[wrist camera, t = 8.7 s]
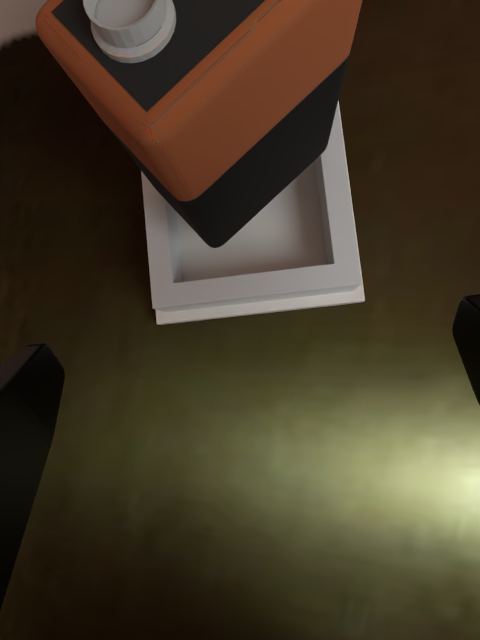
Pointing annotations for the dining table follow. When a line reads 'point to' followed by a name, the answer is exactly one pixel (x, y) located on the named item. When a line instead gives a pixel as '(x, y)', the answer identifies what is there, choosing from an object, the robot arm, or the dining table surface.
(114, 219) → the dining table surface
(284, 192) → the tray
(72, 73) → the battery
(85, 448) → the dining table surface
